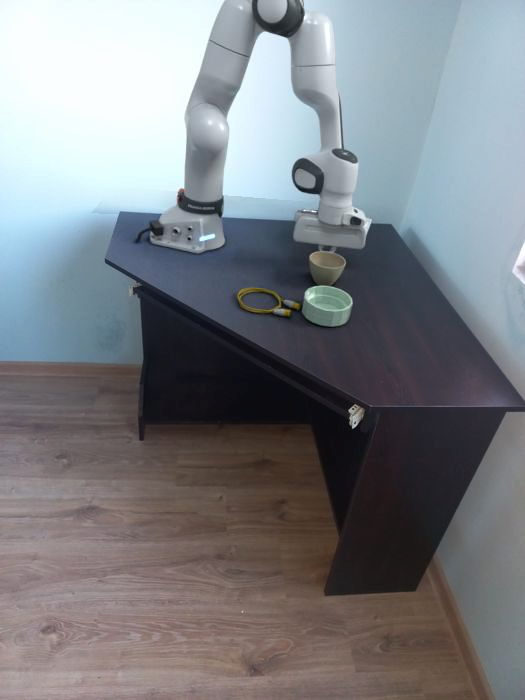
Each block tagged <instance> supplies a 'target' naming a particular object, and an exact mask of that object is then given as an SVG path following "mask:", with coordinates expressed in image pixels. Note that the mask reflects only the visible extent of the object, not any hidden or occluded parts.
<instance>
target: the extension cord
mask: <svg viewBox="0 0 525 700" xmlns="http://www.w3.org/2000/svg"><path fill="white" fill-rule="evenodd" d="M258 292H259V293H267V294H271V295H273V296H274V297H275V298H276V299H277V301H278V303H279V304H278V305H277V306H275V307H274V308H271V309H259V308H252V307H249V306H247V305H245V303H243V301H242V300H241V298H242V296H244V295H246V294H249V293H258ZM236 297H237V302H238V303H239V305H240V306H239V307H241V308H242V309H243V310H244V311H245V310H246V311H248V312H251V313H255V314H268V313H272V314H273V315H277V316H280V317H288V318H289V317H291V310H292V309H293V310H297V311H298V310H300V308H301V304H300V303H297V302H295V301H293V300H288V299H284V300H283V298H281V297H280V296H279V294H277V293H276V292H275V291H272V290H270V289H266V288H261V287H246V288H242V289H241V290H239V291H238V293H237V296H236ZM282 302H283V305H285V306H287V307H288V308H290V309H287V308H282Z"/></svg>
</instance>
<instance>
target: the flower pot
mask: <svg viewBox="0 0 525 700" xmlns="http://www.w3.org/2000/svg"><path fill="white" fill-rule="evenodd" d="M325 251H326V250H323V251H320V250H319V251H315V252H312V253H310V255H309V257H308V263H309V269H310V270H309V271H310V274H311V277H312V279H313V281H314V283H315V284H316V286H330V287H332V285H334V284H335V282H337V280H338V279H339V278H340V277H341V275H342V274H343V271H344V269H345V267H346V265H347V261H346V259H345V257H343V256H341V255H340V254H338V253H336V252H334V253H332V252H329V251H327V252H325Z"/></svg>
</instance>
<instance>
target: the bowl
mask: <svg viewBox="0 0 525 700" xmlns="http://www.w3.org/2000/svg"><path fill="white" fill-rule="evenodd" d="M353 304H354V303H353V298H352V297H351V296H350V294H349V293H348V292H346V291H344V290H342V289H340V288H338V287H334V286H320V285H315V286H312V287H309V288H307V289H306V290H305V292H304V295H303V300H302V306H301V314H302V315H303V316H304V317H305V319H307V320H308V321H309V322H311V323H314V324H316V325H318V326H323V327H331V328H332V327H340V326H342V325H345V324H346V323H347V322H348V321H349V319H350V316H351V312H352V308H353Z"/></svg>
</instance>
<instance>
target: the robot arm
mask: <svg viewBox="0 0 525 700" xmlns="http://www.w3.org/2000/svg"><path fill="white" fill-rule="evenodd" d="M304 2H305V1H304V0H224V1H223V3H222V5H221V6H220V8H219V10H218V13H217V15H216V18H215V20H214V23H213V25H212V27H211V30H210V34H209V36H208V41H207V43H206V47H205V51H204V54H203V58H202V60H201V65H200V68H199V72H198V73H197V77H196V80H195V82H194V85H193V88H192V91H191V93H190V96H189V99H188V102H187V105H186V108H185V112H184V115H183V116H184V118H183V119H184V124H185V133H186V135H185V136H186V137H185V138H186V141H185V142H186V144H185V160H184V177H183V178H184V181H183V183H184V185H183V187H184V188H179V189H178V191H177V196H176V204H174V205H173V206H172V207H170V208H168V209H166V210H164V212H163V213H162V214H161V215H160V216H159V219H152V220H149V226H148V227H146V228H144V229H142V230H140V231H139V233H138V234H137V238H135V239H134V241H135V243H139V242H140V241H141V239H142V236H143V235H144V234H145V233H149V232H150V233H149V241H150V242H151V244H152V245H157V246H161V247H165V248H170V249H175V250H180V251H183V252H189V253H193V254H201V253H204V252H206V251H211V250H212V251H213V250H216V249H219V248H221V247H223V245H225V243H226V239H225V233H224V228H223V214H224V209H225V207H224V206H225V197H224V195H223V193H224V180H225V179H224V178H225V168H226V167H225V166H226V160H227V156H228V155H227V154H228V148H229V138H230V125H229V123H228V119H227V118H228V115H229V112H230V110H231V107H232V105H233V103H234V101H235V99H236V96H237V95H238V93H239V91H240V90H241V87H242V85H243V81H244V79H245V75H246V72H247V69H248V66H249V63H250V59H251V56H252V54H253V51H254V48H255V45H256V42H257V40H258V37H260V35H261V34H263V33H265V32H266V33H269V34H272V35H275V36H279V37H283V38H286V39H287V41H288V44H289V50H290V83H291V88H292V93H293V94H294V95H295V97H296V98H297V99H298V100H299V101H300V102H302V103H303V104H304V105H306V106H308V107H310V108H311V109H312V110H314V112H315V114H316V116H317V117H318V124H319V135H320V149H319V151H318V152H316V153H312V154H308V155H305V156H303V157H300V158H298V159H297V160H296V161H294V163H293V166H292V167H291V180H292V183H293V185H294V187H295V188H296V189H297V190H298V191H299V192H301V193H303V194H308V195H318V196H319V199H318V200H319V201H318V205H317V209H307V208H301V209H298V210H297V211H296V212H295V213H294V219H293V221H294V223H295V224H294V227H293V233H292V239H293V240H294V242H295V243H304V244H311V245H317V246H318V251H319V252H320V251H325V252H332V253H336V251H337V248H344V249H352V250H362V249H364V248H365V245H366V239H367V235H366V229H365V222H366V218H367V217H366V215H365V212H364V211H363V210H362V209H360V208H357V207H355V206H353V196H354V192H355V191H356V187H357V184H358V183H357V182H358V177H359V167H360V166H359V158H358V157H357V155H356V154H355V153H354V152H352V151H350V150H348V149H346V148H345V146H344V144H345V143H344V129H343V113H342V102H341V101H342V100H341V96H340V93H339V91H338V86H337V76H336V75H337V73H336V44H335V43H336V41H335V32H334V26H333V22H332V20H331V18H330V17H329V16H328V15H327V14H325V13H323V12H319V11H309V10H307V9H306V8H305V3H304ZM325 246H328V247H330V249H329V251H327V250H324V247H325Z"/></svg>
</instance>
